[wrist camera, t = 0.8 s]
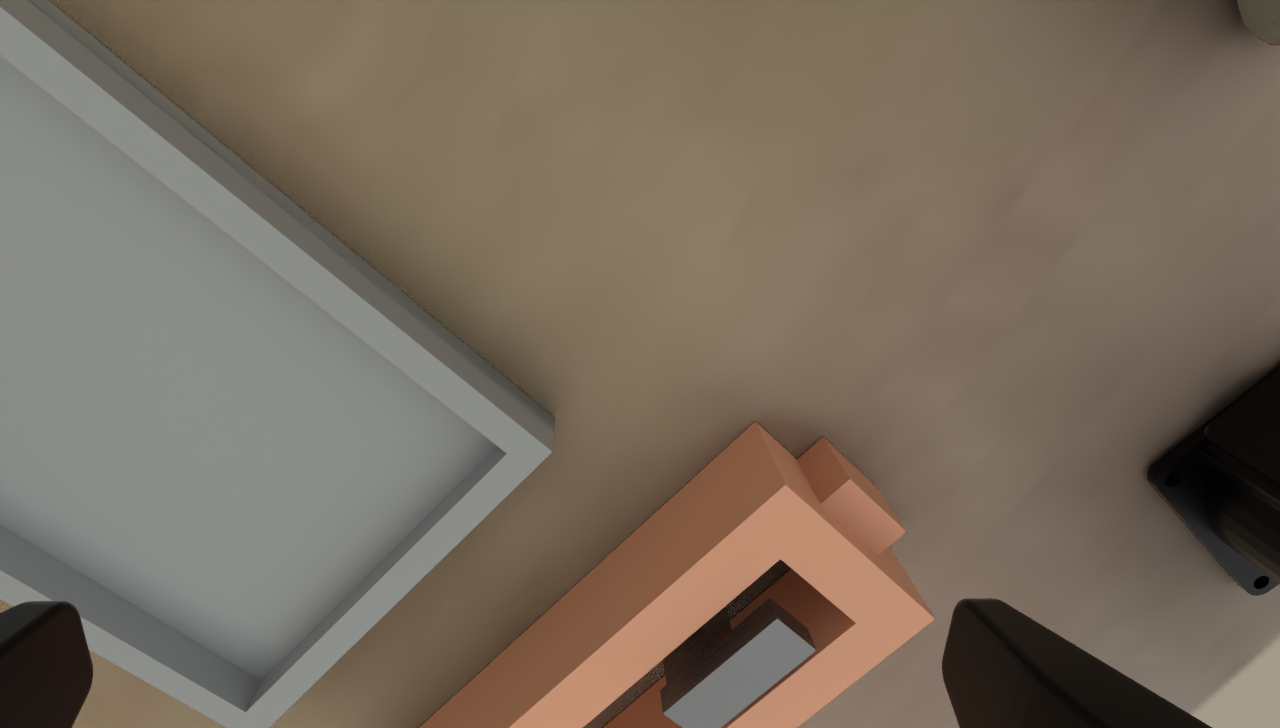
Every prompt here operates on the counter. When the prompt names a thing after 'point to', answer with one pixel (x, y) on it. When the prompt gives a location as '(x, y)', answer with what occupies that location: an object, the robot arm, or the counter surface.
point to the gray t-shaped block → (731, 665)
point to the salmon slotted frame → (715, 596)
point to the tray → (213, 396)
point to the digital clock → (1262, 19)
